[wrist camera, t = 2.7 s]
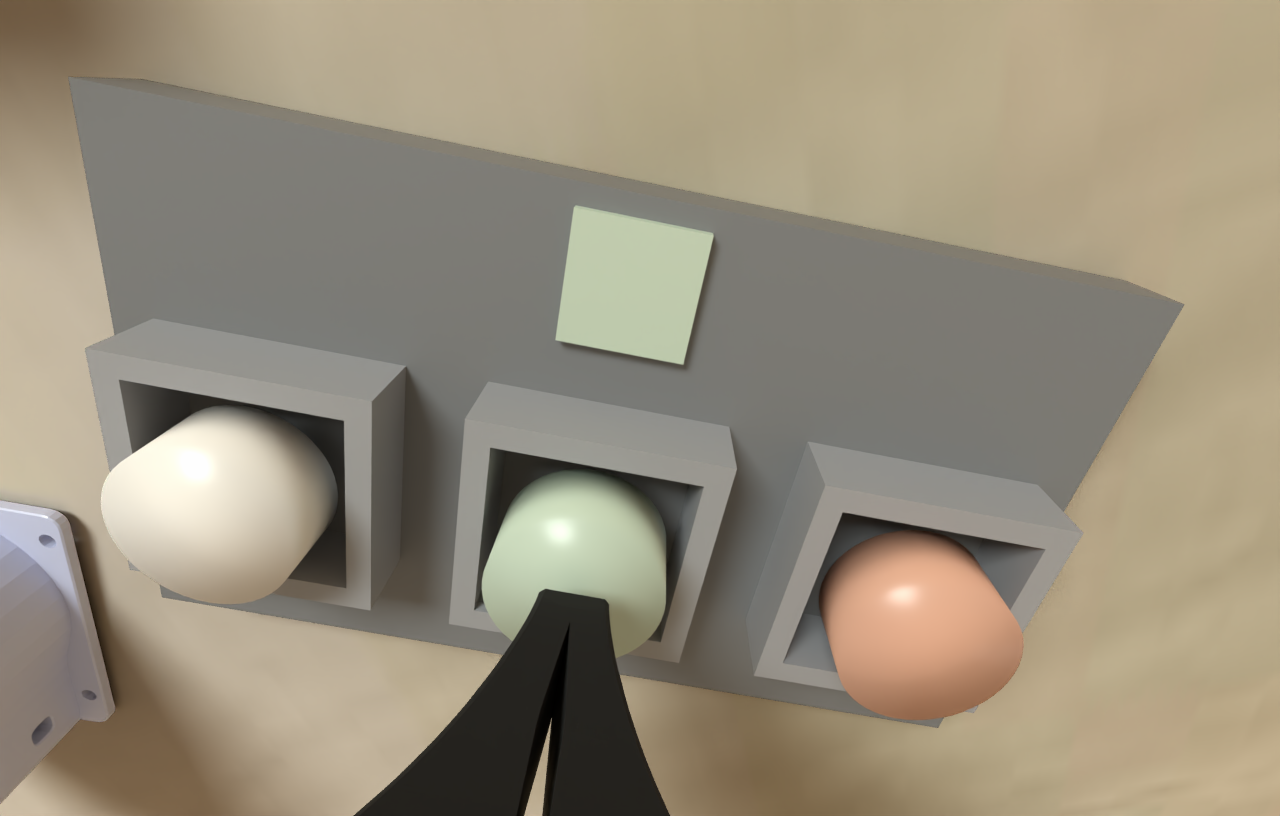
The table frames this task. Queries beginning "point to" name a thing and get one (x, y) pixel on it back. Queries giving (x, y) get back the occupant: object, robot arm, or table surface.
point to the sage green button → (580, 553)
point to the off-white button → (221, 504)
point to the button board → (591, 372)
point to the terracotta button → (917, 626)
